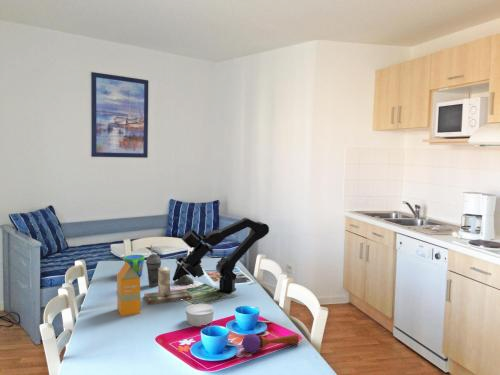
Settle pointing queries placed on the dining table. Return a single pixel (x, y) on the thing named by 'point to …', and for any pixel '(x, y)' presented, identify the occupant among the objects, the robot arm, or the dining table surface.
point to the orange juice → (128, 291)
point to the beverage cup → (153, 269)
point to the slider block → (164, 281)
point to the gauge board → (174, 296)
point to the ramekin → (199, 314)
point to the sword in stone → (184, 280)
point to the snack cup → (135, 263)
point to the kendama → (266, 341)
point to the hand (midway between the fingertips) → (173, 280)
